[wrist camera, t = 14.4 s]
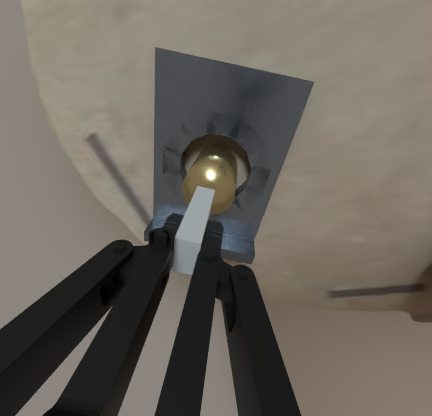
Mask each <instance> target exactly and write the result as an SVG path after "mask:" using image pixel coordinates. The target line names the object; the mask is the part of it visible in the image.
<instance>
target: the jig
mask: <svg viewBox="0 0 432 416" xmlns="http://www.w3.org/2000/svg"><path fill="white" fill-rule="evenodd" d="M313 84H314V82H312V81H308V80H303V79H299V78H294V77H290V76H285V75H280V74H276V73H271V72H267V71H262V70H257V69H253V68H248V67H244V66H239V65H234V64H230V63H225V62H221V61H216V60H211V59H207V58H202V57H198V56H193V55H188V54H184V53H179V52H175V51H170V50H166V49H161V48H156V47H155V123H154V210H153V219H152V221H151V222H150V224H149V225H148V227H147V228H146V230H145V231H144V241H148V242H149V232H150V231H151V230H153V229H156V228H162V226H163V225H164V223H165V222H166V219H167V218H168V216H169V215H171V214H172V213H177V214H182V215H185V213H186V211H187V209H188V206H189V205H188V204H187V203H186V201H185V200H184V197H183V195H182V183H183V180H184V178H185V176H186V175H187V173H186V171H185V169H184V157H185V149H186V148H187V147H188V145H189V144H190V143H191V141H192V140H193V139H196V138H199V137H202V136H205V135H208V134H210V133H212V134H217V135H221V136H226V137H230V138H232V139H233V140H234V141H236V142H237V143H238V144H239V145H240V146H241V147H242V148H243V149H244V150H245V151H246V152H247V155H248V159H249V163H250V169H249V173H248V176H247V180H246V181H245V182H244V183H243V184H242V185H241V186H240V187H239V188H237V189H236V190H235V198H234V201H233V203H232V204H231V206H230V207H229V208H228V209H227V210H225V211H224V212H222V213H219V214H214V215H210V218H209V220H211V221H216V222H221V223H222V225H223V227H224V229H223V236H222V244H221V252H220V255H221V258H226V259H231V260H235V261H240V262H244V263H249V264H252V262H253V259H254V257H255V251H254V238H255V235H256V233H257V230H258V228H259V225H260V222H261V220H262V217H263V214H264V212H265V209H266V207H267V204H268V201H269V199H270V196H271V194H272V191H273V188H274V186H275V183H276V180H277V178H278V175H279V173H280V170H281V167H282V165H283V162H284V160H285V157H286V154H287V152H288V149H289V147H290V144H291V141H292V139H293V136H294V133H295V131H296V128H297V126H298V123H299V120H300V118H301V115H302V113H303V110H304V107H305V105H306V102H307V100H308V97H309V94H310V92H311V89H312V86H313Z"/></svg>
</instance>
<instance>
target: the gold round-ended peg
mask: <svg viewBox="0 0 432 416" xmlns="http://www.w3.org/2000/svg"><path fill="white" fill-rule="evenodd" d="M236 177H237V160H236V157H235V155H234V154H233V152H232V151H231V150H229V149H228V148H226V147H224V146H221V145H211V146H208V147H206V148H205V149H203V150H202V151H201V152H200V154H199V155H198V157H197V159H196V160H195V162H194V163H193V165H192V167H191V168H190V170H189V172H188V173H187V175H186V176H185V178H184V180H183V183H182V195H183V197H184V200H185V201H186V203H187V204H188V205H189V204H190V202H191V199H192V197H193V195H194V193H195V190H196V188H197V186H200V187H205V188H209V189H214V190H215V193H214V198H213V203H212V208H211V213H210V215H214V214H219V213H222V212H224V211H225V210H227V209H228V208H229V207H230V206H231V204H232V203H233V201H234V198H235V190H236Z"/></svg>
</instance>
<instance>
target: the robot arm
mask: <svg viewBox="0 0 432 416" xmlns="http://www.w3.org/2000/svg"><path fill="white" fill-rule="evenodd" d="M214 193H215V190H214V189H209V188H205V187H200V186H197V188H196V190H195V193H194V195H193V197H192V199H191V202H190V204H189V206H188V209H187V211H186V213H185V215H182V214H177V213H172V214H171V215H169V216H168V218H167V219H166V222H165V223H164V225H163V226H162V228H156V229H153V230H151V231H150V232H149V244H148V245H145V246H133V245H132V243H131V242H129V241H127V240H116V241H113V242H112V243H110V244H109V245H107V246H106V247H105V248H103V249H102V250H101V251H100V252H98V253H97V254H96V255H95V256H93V257H92V258H91V259H89V260H88V261H87V262H86V263H84V264H83V265H82V266H81V267H79V268H78V269H77V270H75V271H74V272H73V273H72V274H70V275H69V276H68V277H66V278H65V279H64V280H63V281H62V282H60V283H59V284H58V285H56V286H55V287H54V288H52V289H51V290H50V291H49V292H47V293H46V294H45V295H44V296H42V297H41V298H40V299H38V300H37V301H36V302H35V303H33V304H32V305H31V306H30V307H28V308H27V309H26V310H24V311H23V312H22V313H21V314H19V315H18V316H17V317H15V318H14V319H13V320H12V321H11V322H9V323H8V324H7V325H6V326H4V327H3V328H1V329H0V416H15V415H16V414H17V413H18V412H19V411H20V409H21V408H22V407H23V406H24V405H25V404H26V403H27V402H28V400H29V399H30V398H31V397H32V396H33V395H34V394H35V393H36V391H37V390H38V389H39V388H40V387H41V386H42V385H43V384H44V382H45V381H46V380H47V379H48V378H49V377H50V376H51V375H52V373H53V372H54V371H55V370H56V369H57V368H58V367H59V365H60V364H61V363H62V362H63V361H64V360H65V358H67V356H68V355H69V354H70V353H71V352H72V351H73V350H74V348H75V347H76V346H77V345H78V344H79V343H80V342H81V341H82V339H83V338H84V337H85V336H86V335H87V334H88V333H89V332H90V330H91V329H92V328H93V327H94V326H95V325H96V324H97V323H98V321H99V320H100V319H101V318H102V317H103V316H104V315H105V313H106V312H107V311H108V310H109V309H110V308H111V307H112V308H111V310H110V312H109V313H108V315H107V317H106V318H105V320H104V322H103V324H102V326H101V327H100V329H99V330H98V332H97V334H96V336H95V337H94V339H93V341H92V343H91V344H90V346H89V348H88V349H87V351H86V353H85V355H84V356H83V358H82V360H81V361H80V363H79V365H78V367H77V369H76V370H75V372H74V374H73V375H72V377H71V379H70V380H69V382H68V384H67V386H66V387H65V389H64V391H63V393H62V394H61V396H60V398H59V399H58V401H57V402H56V404H55V405H54V406H53V407H52V408H51V409H50V410H48V411H47V412H46V413H45V414H44V415H43V416H117V415H118V413H119V410H120V407H121V405H122V402H123V399H124V397H125V394H126V391H127V389H128V386H129V383H130V381H131V378H132V375H133V372H134V370H135V367H136V365H137V362H138V359H139V356H140V354H141V351H142V348H143V346H144V343H145V341H146V338H147V335H148V333H149V330H150V327H151V325H152V322H153V319H154V316H155V314H156V311H157V309H158V306H159V303H160V301H161V298H162V295H163V293H164V290H165V287H166V285H167V282H168V279H169V273H170V270H171V267H172V271H176V272H180V273H185V274H190V275H192V278H191V281H190V285H189V289H188V293H187V297H186V300H185V304H184V308H183V311H182V315H181V319H180V323H179V326H178V330H177V334H176V338H175V342H174V345H173V349H172V353H171V356H170V360H169V364H168V368H167V372H166V375H165V379H164V383H163V386H162V390H161V394H160V397H159V401H158V405H157V409H156V412H155V416H200V411H201V402H202V395H203V388H204V379H205V373H206V365H207V357H208V349H209V342H210V335H211V326H212V319H213V311H214V304H215V298H217V299H219V300H221V301H222V309H223V314H224V322H225V329H226V336H227V342H228V348H229V355H230V362H231V368H232V375H233V382H234V389H235V395H236V402H237V408H238V416H301V414H300V410H299V407H298V405H297V401H296V399H295V395H294V392H293V389H292V386H291V383H290V381H289V377H288V374H287V371H286V368H285V365H284V362H283V359H282V356H281V353H280V350H279V347H278V344H277V341H276V338H275V335H274V332H273V329H272V326H271V323H270V320H269V317H268V314H267V311H266V308H265V305H264V302H263V299H262V296H261V293H260V290H259V287H258V284H257V281H256V278H255V275H254V273H253V271H252V270H251V269H250V268H249V267H247V266H245V265H235V266H234V267H233V266H231V265H229V264H227V263H226V262H225V261H223V259H222V258H221V255H220V252H221V244H222V236H223V229H224V227H223V225H222V223H221V222H216V221H211V220H209V218H210V213H211V208H212V203H213V198H214Z"/></svg>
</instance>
